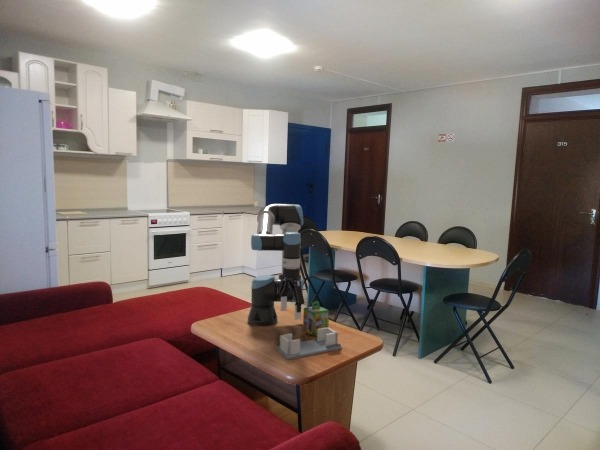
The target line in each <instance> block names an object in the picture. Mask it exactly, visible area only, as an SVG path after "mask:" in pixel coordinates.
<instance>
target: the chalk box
mask: <svg viewBox="0 0 600 450" xmlns="http://www.w3.org/2000/svg"><path fill="white" fill-rule="evenodd" d="M310 304H311V306H308V307H304V308H303V318H302V319H303V320H302V321H303V322H302V324H303V325H304V326H306V334H308V335H311V336H312V337H317V329H320V328H326V327H329V322H330V321H329V319H330V310H329V309H327V308H325V307H322V306H320V301H319V300H317V301H316V300H315V301H312V302H311V303H310Z"/></svg>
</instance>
